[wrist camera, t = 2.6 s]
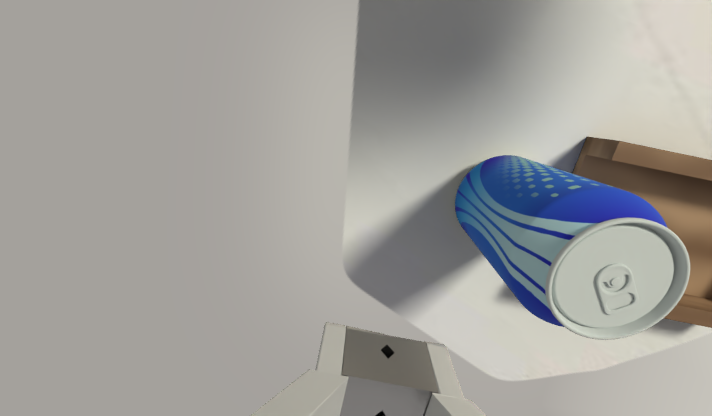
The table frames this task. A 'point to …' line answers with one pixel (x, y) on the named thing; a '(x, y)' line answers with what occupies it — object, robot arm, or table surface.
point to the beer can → (573, 246)
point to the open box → (665, 206)
